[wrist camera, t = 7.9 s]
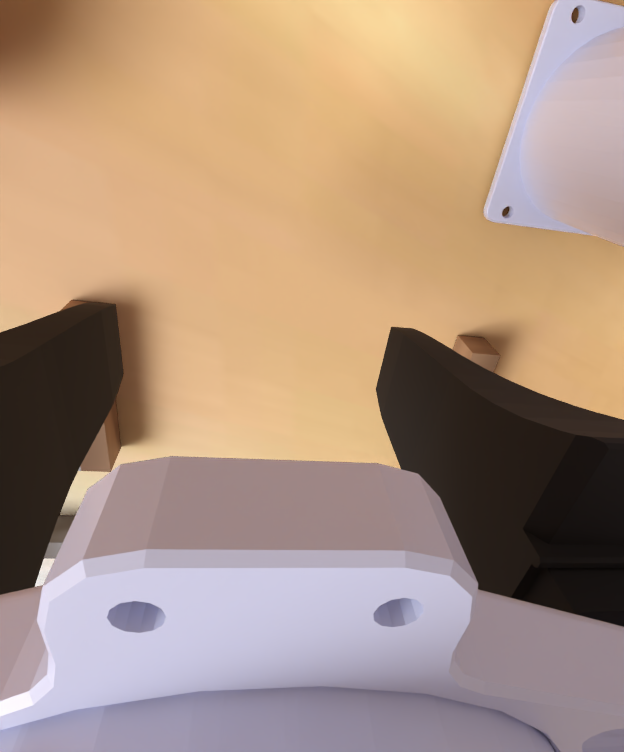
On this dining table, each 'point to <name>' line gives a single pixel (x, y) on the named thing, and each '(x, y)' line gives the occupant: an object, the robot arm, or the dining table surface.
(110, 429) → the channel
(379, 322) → the dining table surface
